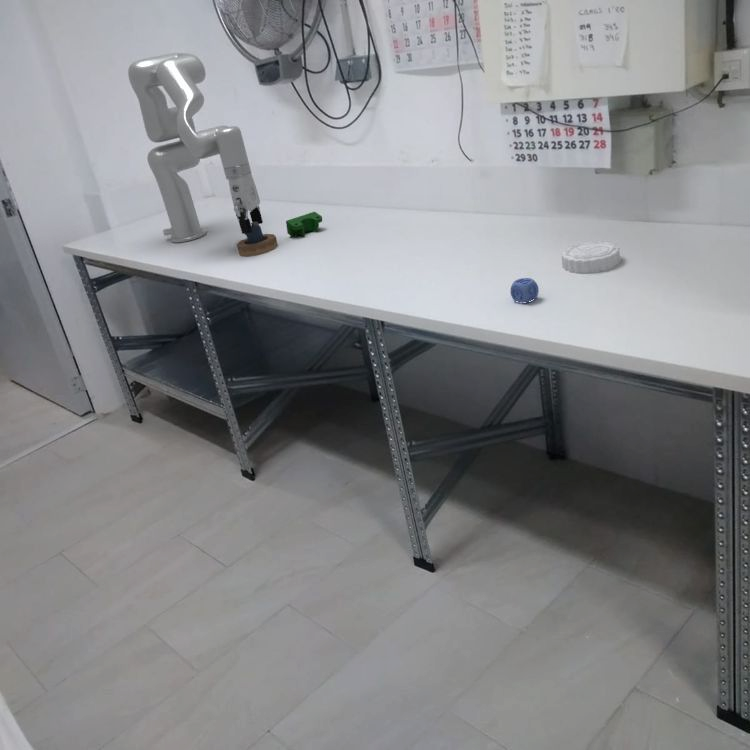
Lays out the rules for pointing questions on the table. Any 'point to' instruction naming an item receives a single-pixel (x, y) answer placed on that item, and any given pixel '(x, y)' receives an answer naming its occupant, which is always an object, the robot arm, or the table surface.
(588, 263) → the mooncake
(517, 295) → the decorative dice
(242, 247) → the wooden ring
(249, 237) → the vaping device
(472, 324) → the table surface
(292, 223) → the clamp
